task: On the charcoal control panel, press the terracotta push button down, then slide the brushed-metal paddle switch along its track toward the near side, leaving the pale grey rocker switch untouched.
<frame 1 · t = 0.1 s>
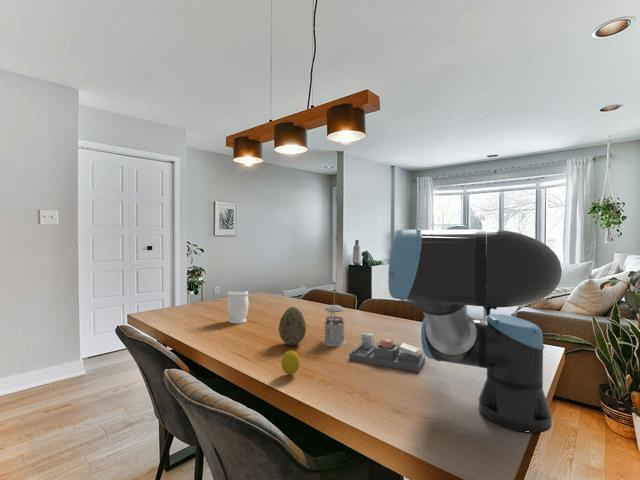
hand: (462, 318, 111), 15 cm above the table, tool tilted 35°, fingers open, 13 cm apart
decorative egg: (292, 345, 131), on the table
french press: (333, 342, 135), on the table
lemon: (290, 376, 102), on the table
slide switch: (367, 340, 121), point 5 cm above the table, slide at 0.0 cm
push button: (386, 344, 114), point 6 cm above the table, slide at 0.0 cm
rocker switch: (410, 348, 111), point 5 cm above the table, hinge at 12.0°
panel: (386, 360, 114), on the table
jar: (238, 322, 166), on the table
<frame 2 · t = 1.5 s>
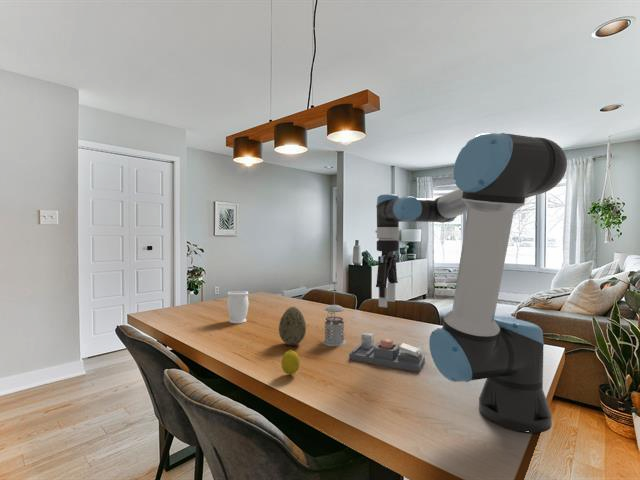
hand: (387, 303, 114), 20 cm above the table, tool pointing down, fingers open, 10 cm apart
nothing on the table moved.
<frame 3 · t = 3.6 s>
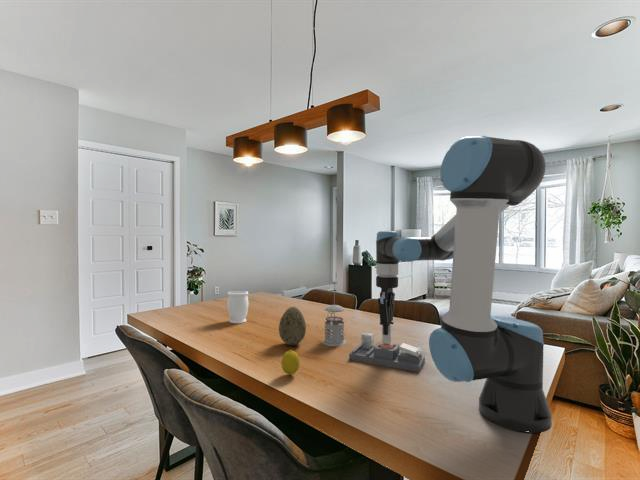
hand: (386, 343, 114), 6 cm above the table, tool pointing down, fingers closed
push button: (386, 348, 114), point 4 cm above the table, slide at 1.3 cm, touching gripper
everything else where it was.
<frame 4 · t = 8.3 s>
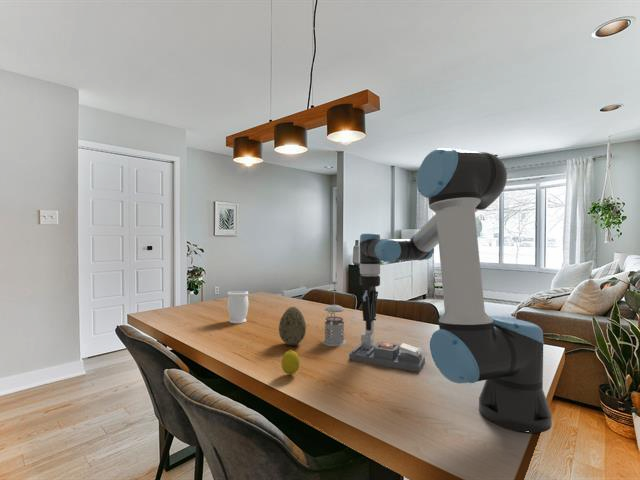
hand: (369, 338, 122), 5 cm above the table, tool pointing down, fingers closed
slide switch: (367, 341, 120), point 5 cm above the table, slide at 0.2 cm, touching gripper
push button: (386, 349, 114), point 4 cm above the table, slide at 1.6 cm
everything else where it was.
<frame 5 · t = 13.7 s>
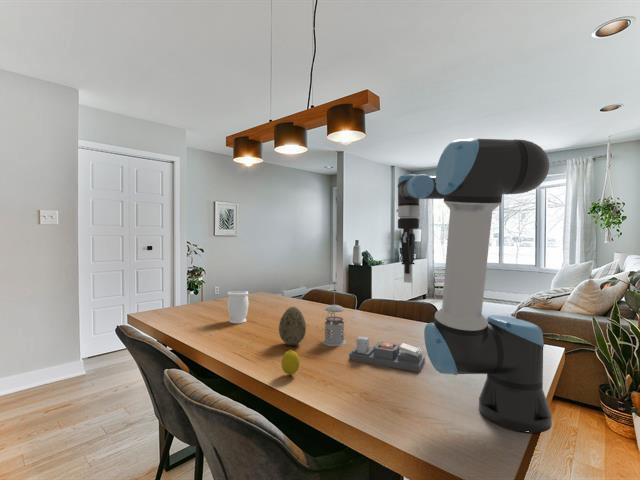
hand: (407, 282, 121), 26 cm above the table, tool pointing down, fingers closed
slide switch: (362, 345, 116), point 5 cm above the table, slide at 5.2 cm
everything else where it was.
at the end: push button slide at 1.6 cm; slide switch slide at 5.2 cm; rocker switch at +12° (first picture: +12°) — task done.
